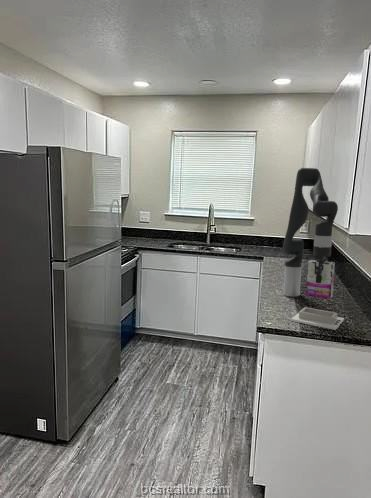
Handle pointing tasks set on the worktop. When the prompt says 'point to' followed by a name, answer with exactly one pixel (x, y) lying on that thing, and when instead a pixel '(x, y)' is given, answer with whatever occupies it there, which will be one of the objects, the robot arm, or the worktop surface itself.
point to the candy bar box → (326, 283)
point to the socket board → (318, 318)
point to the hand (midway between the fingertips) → (320, 281)
